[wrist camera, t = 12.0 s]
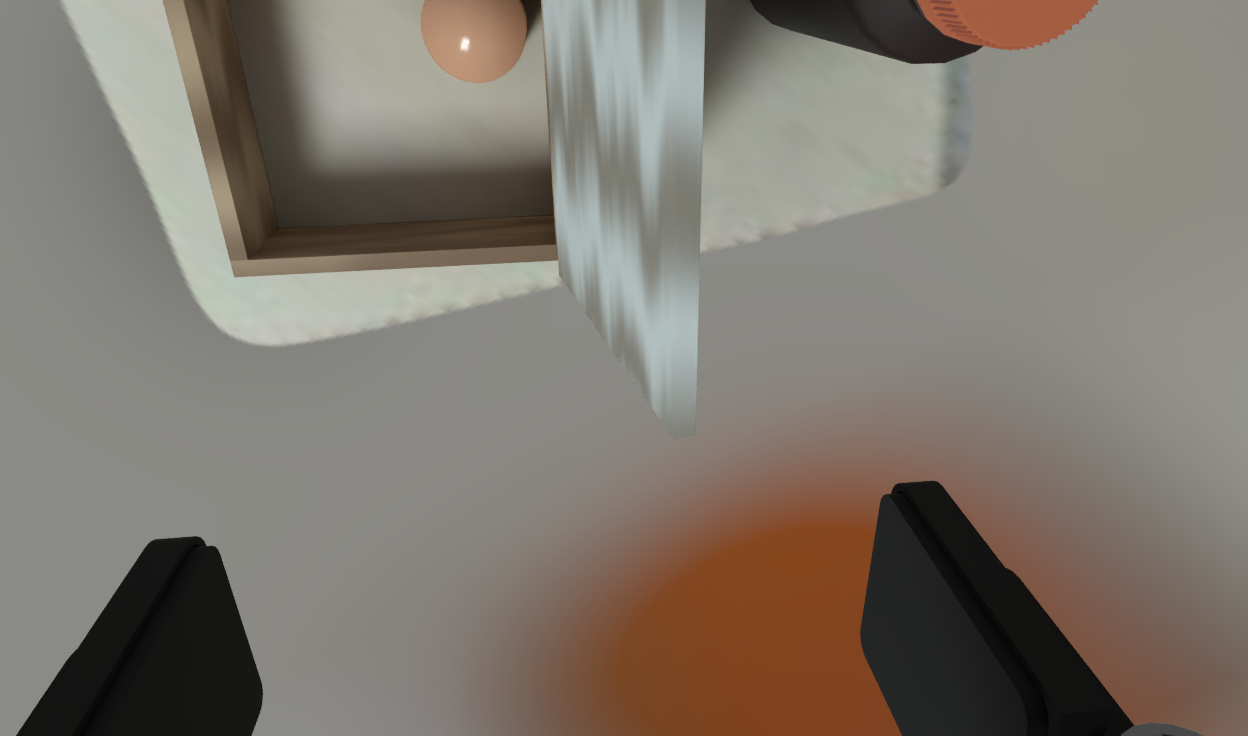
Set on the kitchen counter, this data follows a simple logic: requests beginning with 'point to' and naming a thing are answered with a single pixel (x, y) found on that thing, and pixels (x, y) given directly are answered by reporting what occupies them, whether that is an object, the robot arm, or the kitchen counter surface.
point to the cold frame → (581, 180)
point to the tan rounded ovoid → (474, 36)
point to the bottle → (927, 24)
